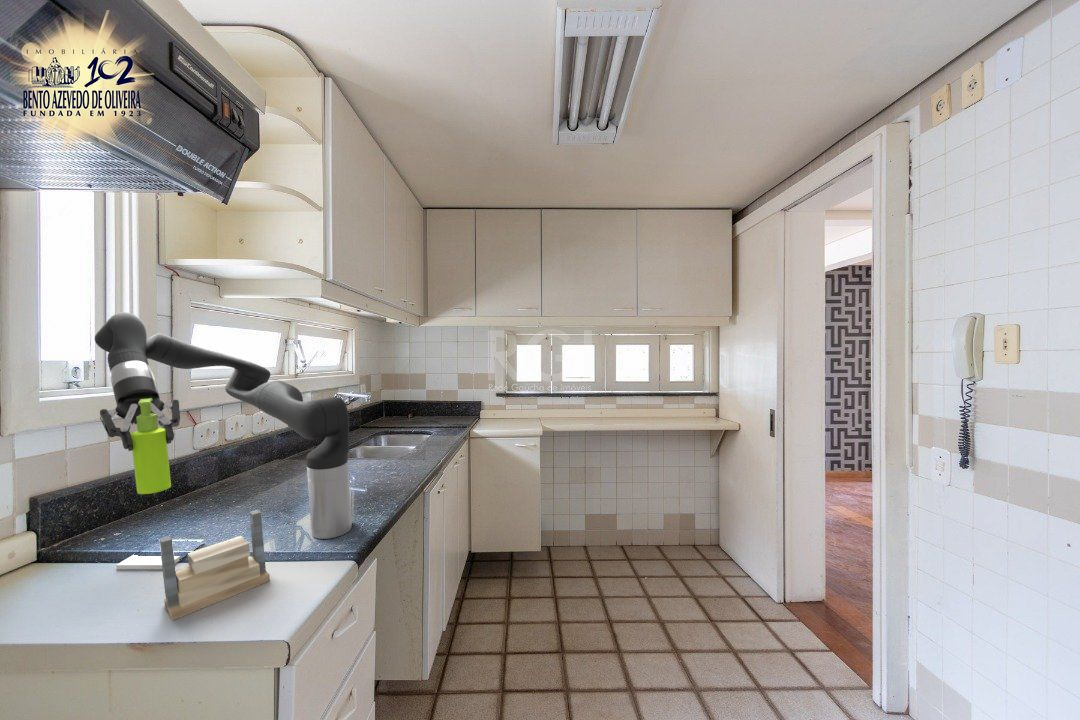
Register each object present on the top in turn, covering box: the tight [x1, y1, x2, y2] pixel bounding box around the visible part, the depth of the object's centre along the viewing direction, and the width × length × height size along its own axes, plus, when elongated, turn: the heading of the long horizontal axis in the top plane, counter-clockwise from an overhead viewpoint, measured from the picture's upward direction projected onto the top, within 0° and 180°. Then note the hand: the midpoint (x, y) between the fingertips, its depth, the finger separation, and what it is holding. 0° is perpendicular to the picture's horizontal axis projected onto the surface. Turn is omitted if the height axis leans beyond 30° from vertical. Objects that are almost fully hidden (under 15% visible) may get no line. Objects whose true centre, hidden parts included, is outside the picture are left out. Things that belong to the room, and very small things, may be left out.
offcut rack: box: [158, 509, 271, 621], centre depth 91 cm, size 6×16×14 cm, turn 139°
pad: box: [115, 539, 205, 570], centre depth 106 cm, size 11×11×1 cm
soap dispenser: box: [130, 398, 172, 495], centre depth 103 cm, size 6×7×20 cm
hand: (150, 444), depth 102 cm, fingers closed on soap dispenser, 6 cm apart
